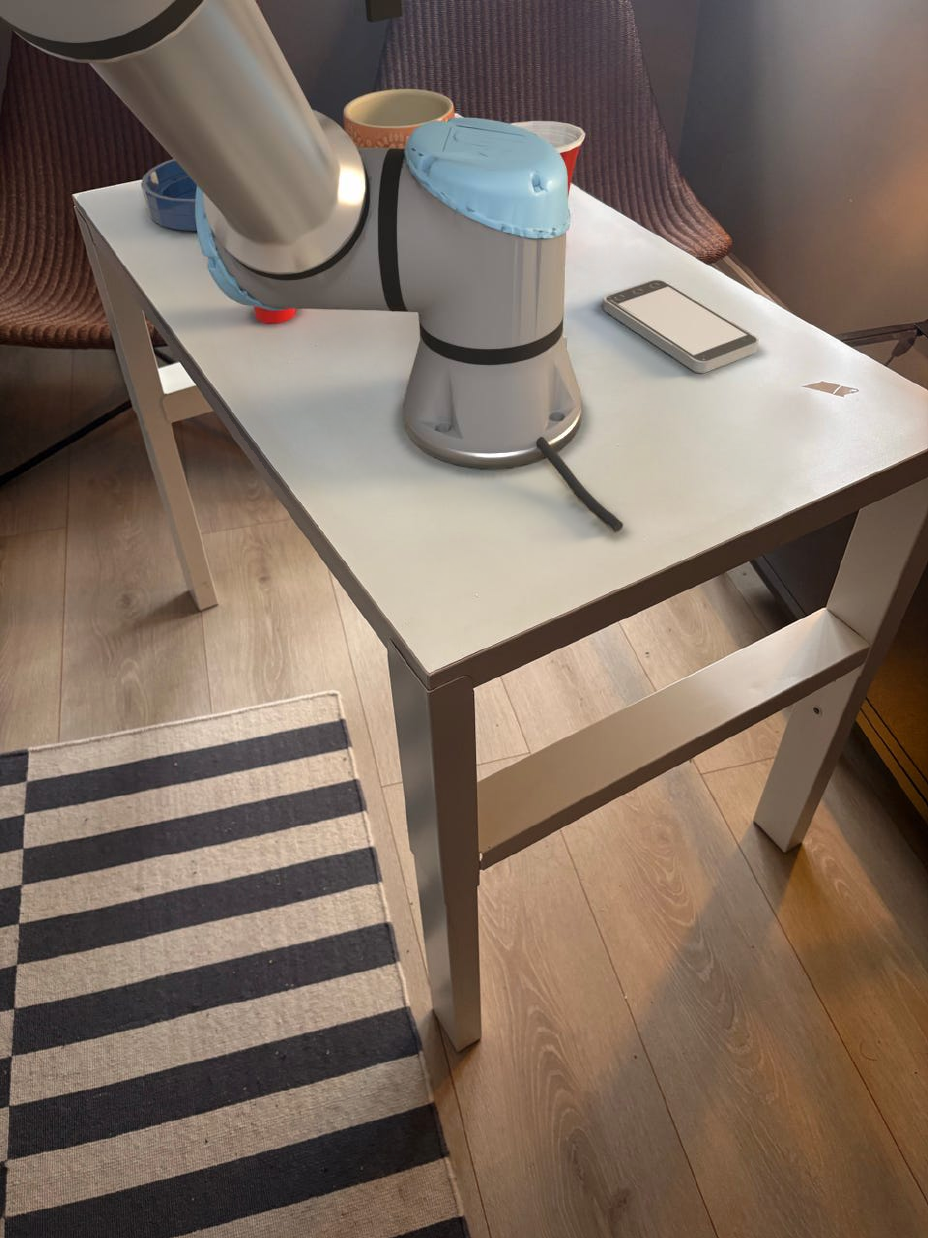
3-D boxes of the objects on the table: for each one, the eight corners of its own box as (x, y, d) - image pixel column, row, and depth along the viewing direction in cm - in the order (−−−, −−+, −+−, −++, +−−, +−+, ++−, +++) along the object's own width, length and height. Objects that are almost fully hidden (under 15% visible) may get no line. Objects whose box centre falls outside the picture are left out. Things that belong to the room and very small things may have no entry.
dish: (269, 229, 116) (263, 195, 113) (144, 240, 115) (135, 205, 112) (271, 180, 126) (265, 147, 123) (156, 190, 125) (147, 156, 122)
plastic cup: (557, 218, 116) (561, 106, 107) (595, 257, 108) (602, 141, 100) (467, 234, 114) (464, 121, 105) (500, 275, 106) (499, 158, 98)
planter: (339, 224, 116) (327, 124, 109) (370, 181, 125) (360, 85, 117) (444, 231, 114) (439, 130, 106) (467, 187, 123) (465, 90, 115)
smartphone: (659, 277, 102) (762, 340, 93) (658, 287, 103) (760, 350, 94) (600, 297, 100) (700, 364, 90) (599, 307, 100) (699, 374, 91)
